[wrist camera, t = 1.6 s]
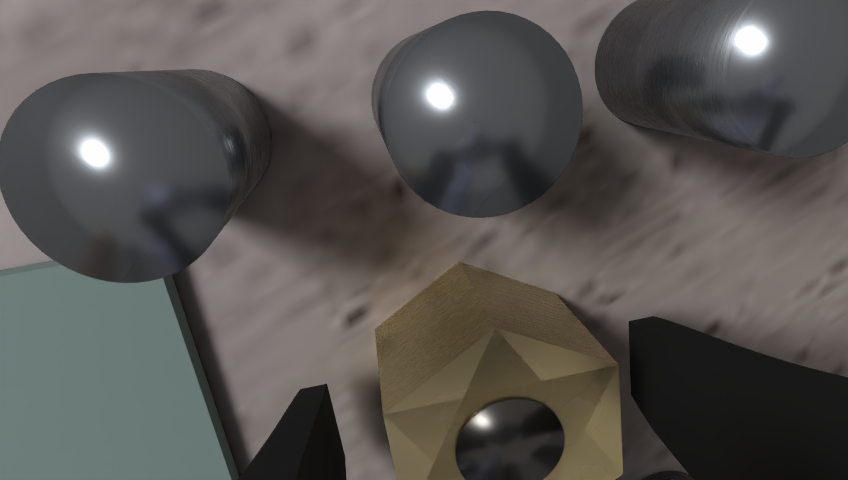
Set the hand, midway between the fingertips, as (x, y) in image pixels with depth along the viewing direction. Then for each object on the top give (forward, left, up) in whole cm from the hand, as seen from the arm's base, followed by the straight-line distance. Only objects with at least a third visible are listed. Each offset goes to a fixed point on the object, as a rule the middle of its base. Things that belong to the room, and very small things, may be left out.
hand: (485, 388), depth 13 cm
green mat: (0, +10, -1) cm, 10 cm away
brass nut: (0, 0, -2) cm, 2 cm away
